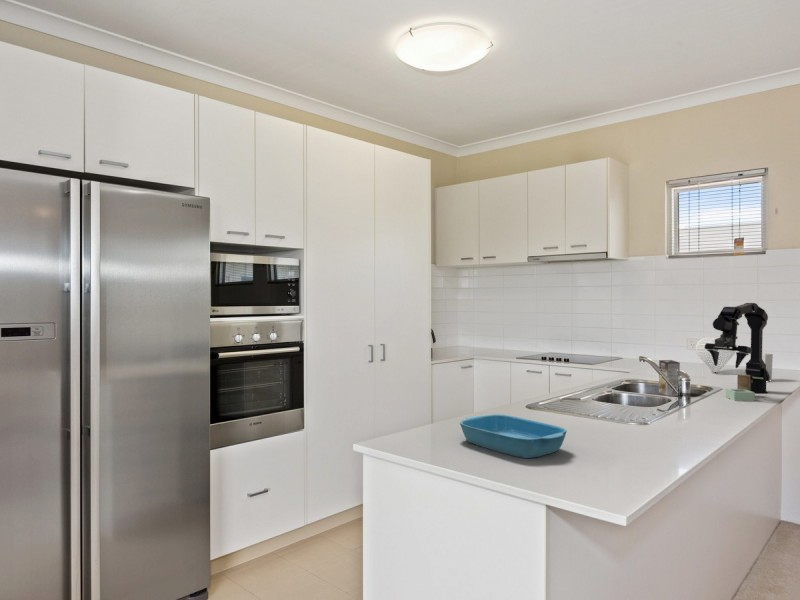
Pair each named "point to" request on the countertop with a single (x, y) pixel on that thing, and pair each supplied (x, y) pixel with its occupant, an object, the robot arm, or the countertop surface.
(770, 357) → the skincare box
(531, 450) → the casserole dish
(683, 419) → the countertop surface
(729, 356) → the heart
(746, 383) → the peg
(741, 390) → the socket
